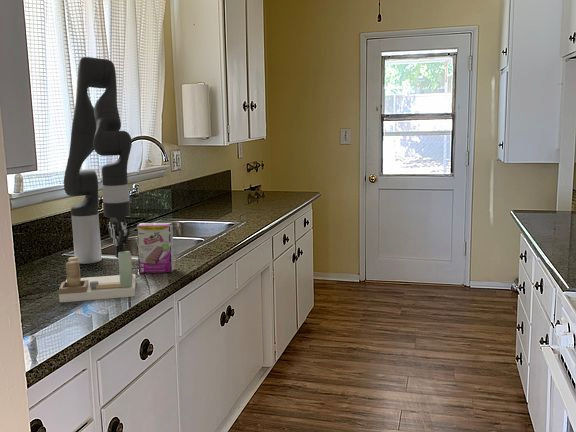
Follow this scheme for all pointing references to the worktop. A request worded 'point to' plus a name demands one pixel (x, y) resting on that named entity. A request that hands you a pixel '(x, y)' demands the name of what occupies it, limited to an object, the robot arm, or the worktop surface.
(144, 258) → the candy bar box
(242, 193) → the worktop surface
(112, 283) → the hinged leg
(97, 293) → the stool seat
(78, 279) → the loose leg
